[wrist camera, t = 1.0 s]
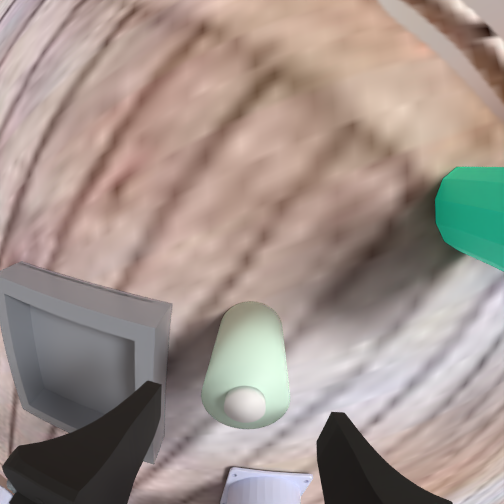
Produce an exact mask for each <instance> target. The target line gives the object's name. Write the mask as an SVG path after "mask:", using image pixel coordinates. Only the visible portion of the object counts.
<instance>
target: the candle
mask: <svg viewBox="0 0 504 504" xmlns="http://www.w3.org/2000/svg"><path fill="white" fill-rule="evenodd" d="M435 214H436V225H437V227H438V229H439V231H440V233H441V235H442V237H443V240H444V242H446V243H447V244H449V245H450V246H452V247H453V248H455V249H456V250H458V251H460V252H462V253H465V254H467V255H469V256H471V257H474V258H476V259H478V260H480V261H482V262H484V263H487V264H489V265H491V266H493V267H495V268H497V269H499V270H501V271H504V167H456V168H455V169H454V170H453V171H451V172H450V173H449V174H448V175H447V176H445V177H444V178H443V180H442V182H441V185H440V188H439V190H438V193H437V196H436V198H435Z"/></svg>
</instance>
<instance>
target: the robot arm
mask: <svg viewBox="0 0 504 504" xmlns="http://www.w3.org/2000/svg"><path fill="white" fill-rule="evenodd" d="M161 393H162V384H159V383H155V382H152V381H146V382H145V383H144V384H143V385H142V386H140V387H139V388H138V389H137V390H136V391H135V392H134V393H133V394H131V395H130V396H129V397H128V398H127V399H125V400H124V401H123V402H122V403H120V404H119V405H118V406H116V407H115V408H114V409H112V410H111V411H109V412H108V413H106V414H105V415H103V416H102V417H100V418H99V419H97V420H95V421H94V422H92V423H90V424H88V425H86V426H84V427H82V428H80V429H78V430H76V431H73V432H71V433H69V434H66V435H63V436H60V437H57V438H54V439H50V440H47V441H43V442H39V443H33V444H27V445H20V446H18V447H17V448H16V449H15V450H14V451H13V453H12V454H11V455H10V456H9V458H8V459H7V461H6V462H5V463H4V465H3V466H2V468H3V472H4V474H5V476H6V477H7V478H8V480H9V481H10V483H11V484H12V485H13V487H14V488H15V489H16V493H15V494H14V496H13V495H12V494H11V493H10V492H9V491H8V490H6V489H5V488H4V487H2V486H1V485H0V504H127V503H128V499H129V496H130V493H131V489H132V486H133V483H134V480H135V478H136V475H137V473H138V471H139V468H140V466H141V464H142V462H143V460H144V458H145V456H146V454H147V451H148V449H149V447H150V445H151V443H152V441H153V439H154V436H155V434H156V431H157V427H158V424H159V421H160V418H161ZM317 462H318V468H319V474H320V479H321V484H322V490H323V495H324V501H325V504H453V503H452V502H451V501H449V500H446V499H444V498H441V497H439V496H436V495H434V494H432V493H430V492H428V491H426V490H424V489H422V488H421V487H419V486H417V485H416V484H414V483H413V482H411V481H410V480H408V479H407V478H405V477H404V476H403V475H401V474H400V473H399V472H397V471H396V470H395V469H394V468H393V467H392V466H390V465H389V464H388V463H387V462H386V461H385V460H384V459H383V458H382V457H381V456H380V455H379V454H378V453H377V452H376V451H375V450H374V449H373V447H372V446H371V445H370V444H369V443H368V442H367V440H366V439H365V438H364V437H363V436H362V434H361V433H360V432H359V431H358V429H357V428H356V427H355V425H354V424H353V423H352V422H351V420H350V419H349V418H348V416H347V415H346V414H345V413H342V412H331V414H330V416H329V418H328V420H327V422H326V424H325V426H324V428H323V430H322V432H321V434H320V436H319V438H318V440H317ZM312 479H313V475H312V474H303V473H285V472H272V471H262V470H253V469H245V468H238V467H232V468H230V471H229V474H228V478H227V481H226V484H225V488H224V491H223V494H222V497H221V501H220V504H301V499H300V497H301V496H302V494H303V493H304V491H305V490H306V488H307V487H308V485H309V484H310V482H311V481H312Z"/></svg>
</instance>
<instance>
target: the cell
mask: <svg viewBox="0 0 504 504" xmlns="http://www.w3.org/2000/svg"><path fill="white" fill-rule="evenodd" d="M201 399H202V403H203V405H204V407H205V409H206V411H207V412H208V413H209V414H210V415H211V416H212V417H213V418H214V419H216V420H217V421H219V422H221V423H222V424H225V425H227V426H230V427H234V428H239V429H256V428H262V427H265V426H268V425H270V424H272V423H274V422H276V421H277V420H279V419H280V418H281V417H282V416H283V415H284V414H285V413H286V411H287V409H288V407H289V404H290V391H289V382H288V373H287V364H286V356H285V347H284V339H283V330H282V323H281V320H280V318H279V316H278V315H277V313H276V312H275V311H274V310H273V309H272V308H270V307H269V306H267V305H265V304H262V303H259V302H243V303H239V304H237V305H235V306H233V307H231V308H230V309H229V310H228V311H227V312H226V313H225V314H224V316H223V318H222V320H221V324H220V327H219V331H218V334H217V338H216V341H215V345H214V348H213V352H212V356H211V359H210V363H209V366H208V370H207V373H206V377H205V380H204V384H203V387H202V392H201Z"/></svg>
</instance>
